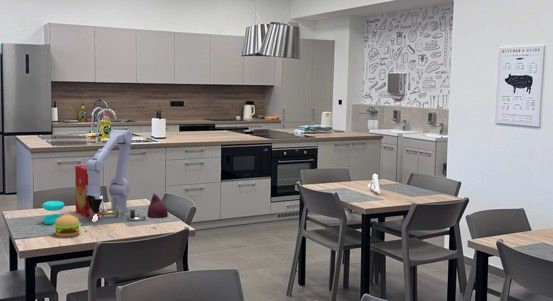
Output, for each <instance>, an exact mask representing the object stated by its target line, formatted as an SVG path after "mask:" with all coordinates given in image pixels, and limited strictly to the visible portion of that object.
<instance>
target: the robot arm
mask: <svg viewBox="0 0 553 301" xmlns="http://www.w3.org/2000/svg"><path fill="white" fill-rule="evenodd" d="M108 136H109V138H108V140H107V141H106V142H105V144H104V146H103V147H102V148H99V149H98V150H97V152H96V153H95V154H94V156H93V157H92V158H91V159H89V160H87V161H86V163H85V165H84V166H85V167H86V170H87V174H88V193H86V195H90V196H86V197H87V199H88V201H89V205H90V207H93V212H94V213H98V212H99V208H100V207H101V204H102V202H103V200H104V199H103V198H100V196H101V195H102V192H101V171H103V168H104V165H105V162H106V161H107V159H108V158H109V156H110V152H111V151H112V149H113V148H114V147H115V146H117V147H118V148H119V150H118V155H117V156H118V157H117V162H116V163H117V164H116V171H115V177H114V178H112V180H111V181H110V185H109V187H108V193H109V195H110V196H111V197H112V198H111V204H110V206H111V208H110V211H116V206H117V205H119V206H121V207H122V212H123V214H124V213H127V209H128V208H127V199H128V197H129V195H130V193H131V188H130V186H131V182H130V181H129V180H127V173H128V165H129V157H130V152H131V151H130V150H131V147H132V143H133V142H132V140H133V134H132V132H131V131H130V130H129V129H114V128H113V129H112V130H111V131H110V132H109V133H108Z"/></svg>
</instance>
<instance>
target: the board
mask: <svg viewBox="0 0 553 301" xmlns="http://www.w3.org/2000/svg"><path fill="white" fill-rule="evenodd" d="M135 215H140V214H139V213H135ZM127 216H130V214H129V213H128V214H123V218H119V219H117V218H116V217H115V215H102V216H100V217H101V218H100V219H99V220H98V221H96V222H93V221H92V220H91V219H90V217H80V218H78V217H77V219H78V220H79V223H81V225H80V226H79V227H87V226H100V225H101V226H102V225H111V224H112V225H113V224H122V223H135V222H136V223H137V222H138V221H128V220H127ZM145 221H147V222H148V219H146V218H145V220H142V221H141V222H145Z"/></svg>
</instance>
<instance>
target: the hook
mask: <svg viewBox="0 0 553 301" xmlns="http://www.w3.org/2000/svg"><path fill="white" fill-rule="evenodd" d="M95 214H97V216H98V220H99V219H100V217H101V216H112V215H116V214H118V210H117V211H112V210H105V211H103V210H102V211H100V208H99V212H98V213H94V212H93V207H90V217H89V218H90V219H91V220H92V219H93V216H94V215H95ZM123 215H124V213H123V212H122V216H123Z"/></svg>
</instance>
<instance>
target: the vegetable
mask: <svg viewBox="0 0 553 301" xmlns="http://www.w3.org/2000/svg"><path fill="white" fill-rule="evenodd" d="M146 215H147V218H149V219H166V218H168V216H169V213H168V208H167V206H166V204H165V203H164V201H163V200H162V199H161V197H159V195H158V194H157V193H154V192H153V194H152V197H151V200H150V202H149V205H148V208H147V214H146Z"/></svg>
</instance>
